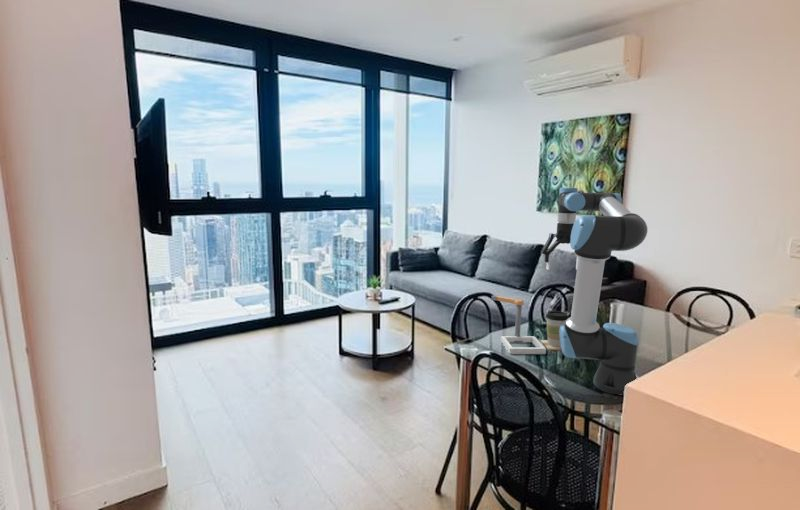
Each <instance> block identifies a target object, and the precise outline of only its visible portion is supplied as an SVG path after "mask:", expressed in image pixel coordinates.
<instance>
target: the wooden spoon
mask: <svg viewBox="0 0 800 510" xmlns="http://www.w3.org/2000/svg"><path fill="white" fill-rule="evenodd" d="M490 300H491V301H498V302H504V303H507V304H508V303H509V304H514V305H515V306H516V305H522V306H524V304H525V300H523V299H516V298H511V297H505V296H500V295H496V294H494V295H491V299H490Z"/></svg>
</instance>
